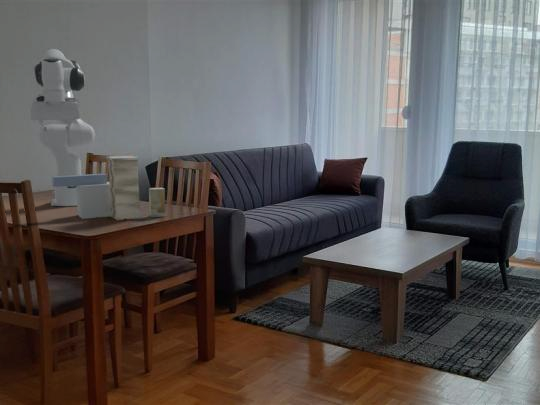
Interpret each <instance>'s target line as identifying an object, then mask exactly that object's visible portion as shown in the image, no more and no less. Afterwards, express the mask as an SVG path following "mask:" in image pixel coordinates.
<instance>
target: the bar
mask: <svg viewBox="0 0 540 405" xmlns="http://www.w3.org/2000/svg"><path fill="white" fill-rule="evenodd" d="M51 182H52V187H53V188H56V187H68V186H78V185H94V184H107V182H108V177H107V173H95V174H94V173H92V174H82V175H72V176H58V175H56V176H51Z"/></svg>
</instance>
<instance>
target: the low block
mask: <svg viewBox="0 0 540 405" xmlns="http://www.w3.org/2000/svg"><path fill="white" fill-rule="evenodd" d="M76 193H77V206H76V207H77V208H76V209H77V216H78V217H79V218H81V219H82V220H83V219H94V218H97V217H98V218H106V217H107V218H109V217H111V206H110V185H109V181H107V184H94V185H78V186H76Z"/></svg>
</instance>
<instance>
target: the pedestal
mask: <svg viewBox="0 0 540 405" xmlns="http://www.w3.org/2000/svg"><path fill="white" fill-rule="evenodd" d="M106 160H107V162H108V178H109V179H108V180H109V181H108V182H109V185H110V206H111V216H110V217H111V218H112V219H113V220H115V219H116V220H115V221H125V220H124V219H127V220H136V219H141V211H140V210H141V209H140V206H141V205H140V188H139V186H140V185H139V161H138V160H140V157H138V156H136V155H115V156H114V155H113V156H106Z"/></svg>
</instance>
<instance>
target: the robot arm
mask: <svg viewBox="0 0 540 405" xmlns="http://www.w3.org/2000/svg"><path fill="white" fill-rule="evenodd" d="M33 77H34V80H35V81H36V83H37V84H38V85H39V86H41V87H42V94H37V95H34V96H32V97H31V102H32V103H31V104H30V106H29V119H30V120H31V121H38V122H39V123H38V124H39V125H40V127H41V128H40V129H39V132H38V139H39V142H40V144H41V145H42V146H44V147H45V148H47V150H49V151H50V152H51V154H53V157H54V159H55V163H56V169H57V170H56V171H57V176H72V175H83V174H82V160H81V159H80V157H79V156H78V155H75V154H74V153H71V152H69V151H68V149H67V148H69V147H71V148H72V147H84V146H90V145H92V144H93V143H94V142H95V138H96V132H95V130H94V128H93V127H92V125H90V124H88V123H87V122H85V121H83V119H82V118H81V111H80V108H81V101H80V99H78V98H77V97H74V94H73V91H74V92H79V91H81V90H82V89H84V87H85V84H86V76H85V74H84V71H83V70H82V69H81V67H80V65H79V63H78V62H77V61H76V60H72V59H71V60H70V59H68V58H66V56H65V55H64V53H63V52H62V51H61V50H59V49H55V48H51V49H48V50H46V51H45V53H43V56H41V61H39V63H38V64H36V65H35V66H34V68H33ZM44 121H56V122H58V123H51V124H47V125H44V124H43V123H44ZM51 194H52V197H53V199H52V201H51V203H50V206H52V207H54V206H58V207H75V206H76V207H77V193H76V186H68V187H54V189H53V191H52V193H51Z"/></svg>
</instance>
